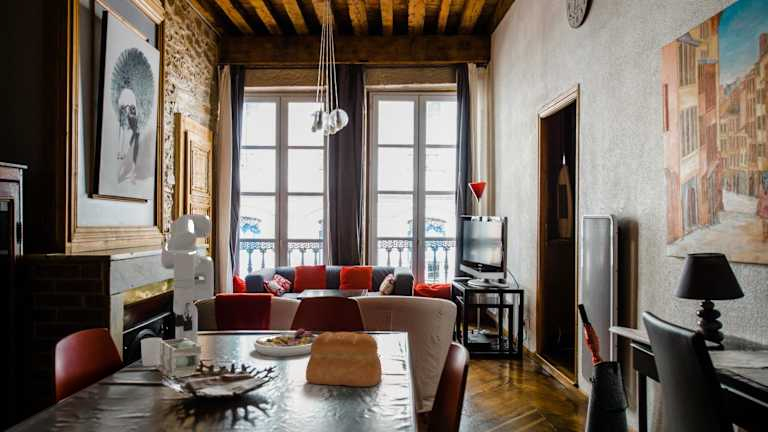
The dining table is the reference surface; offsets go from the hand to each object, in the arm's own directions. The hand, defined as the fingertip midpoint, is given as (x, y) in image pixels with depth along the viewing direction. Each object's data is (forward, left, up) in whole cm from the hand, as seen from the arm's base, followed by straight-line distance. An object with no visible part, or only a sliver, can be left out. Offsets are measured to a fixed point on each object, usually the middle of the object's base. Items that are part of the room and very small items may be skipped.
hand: (183, 328), depth 196 cm
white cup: (-22, -6, -17) cm, 29 cm away
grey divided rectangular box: (-4, 0, -17) cm, 17 cm away
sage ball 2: (+1, -1, -13) cm, 13 cm away
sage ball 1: (-1, +1, -8) cm, 8 cm away
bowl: (-9, +49, -17) cm, 53 cm away
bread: (+47, +42, -17) cm, 66 cm away
